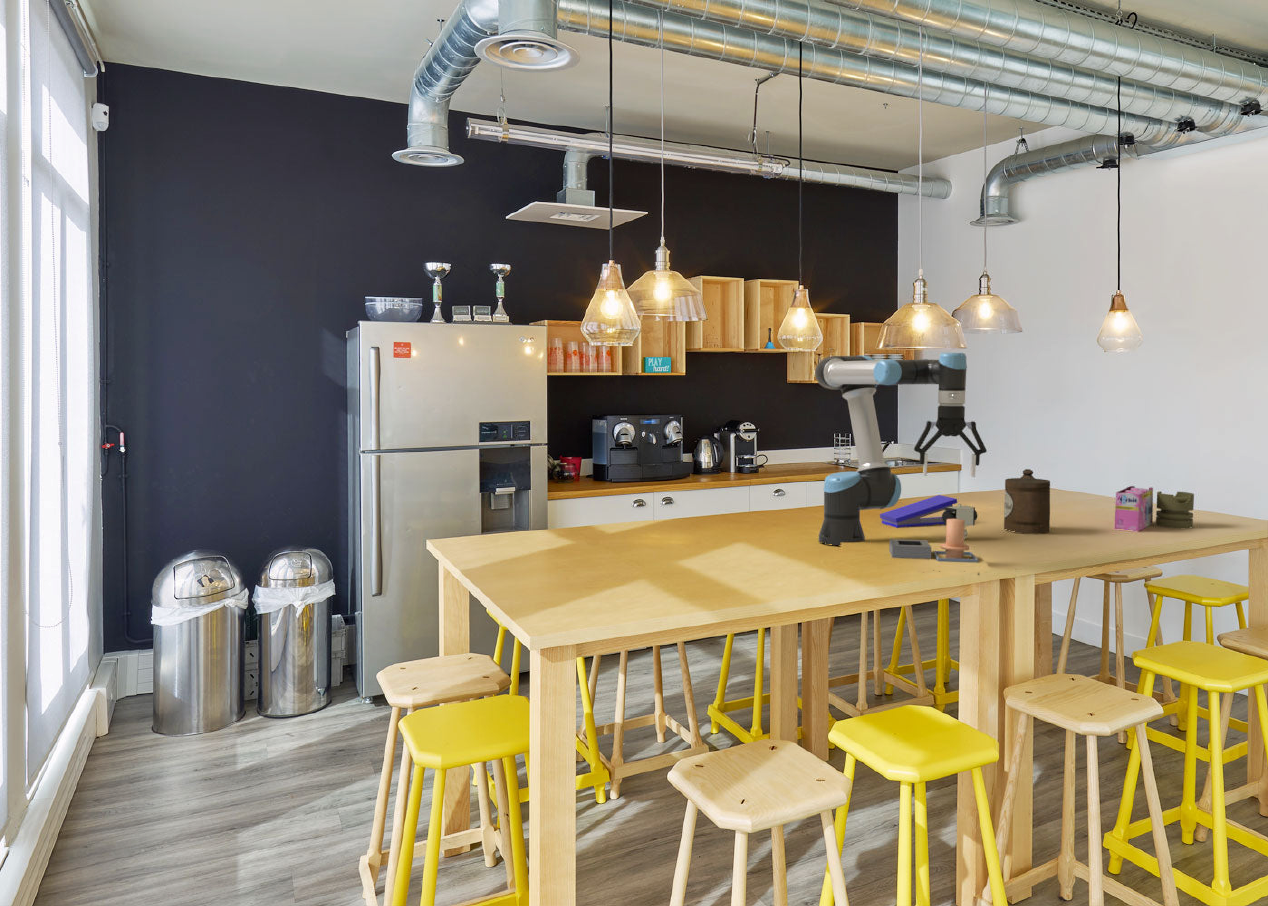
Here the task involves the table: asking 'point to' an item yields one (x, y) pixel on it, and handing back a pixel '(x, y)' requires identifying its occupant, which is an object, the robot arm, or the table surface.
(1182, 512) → the piston
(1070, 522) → the table surface
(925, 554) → the block
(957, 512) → the pneumatic valve
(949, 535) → the flanged copper cylinder
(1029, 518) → the wooden container
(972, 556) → the blue-grey square frame
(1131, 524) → the gum box
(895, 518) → the stapler
